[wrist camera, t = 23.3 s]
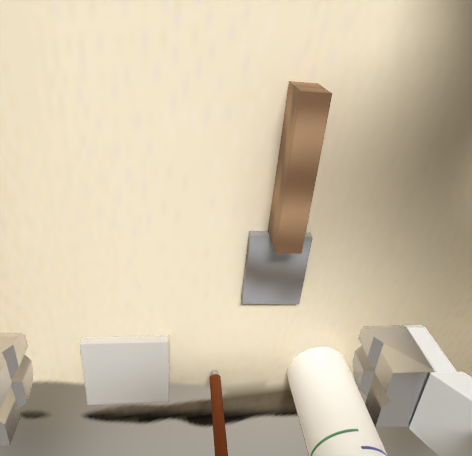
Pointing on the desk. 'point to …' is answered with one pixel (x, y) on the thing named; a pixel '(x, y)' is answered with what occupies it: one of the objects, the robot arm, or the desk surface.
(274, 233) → the turner
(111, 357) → the glazed tile
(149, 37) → the desk surface
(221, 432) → the magnifying glass
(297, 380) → the cylindrical container
